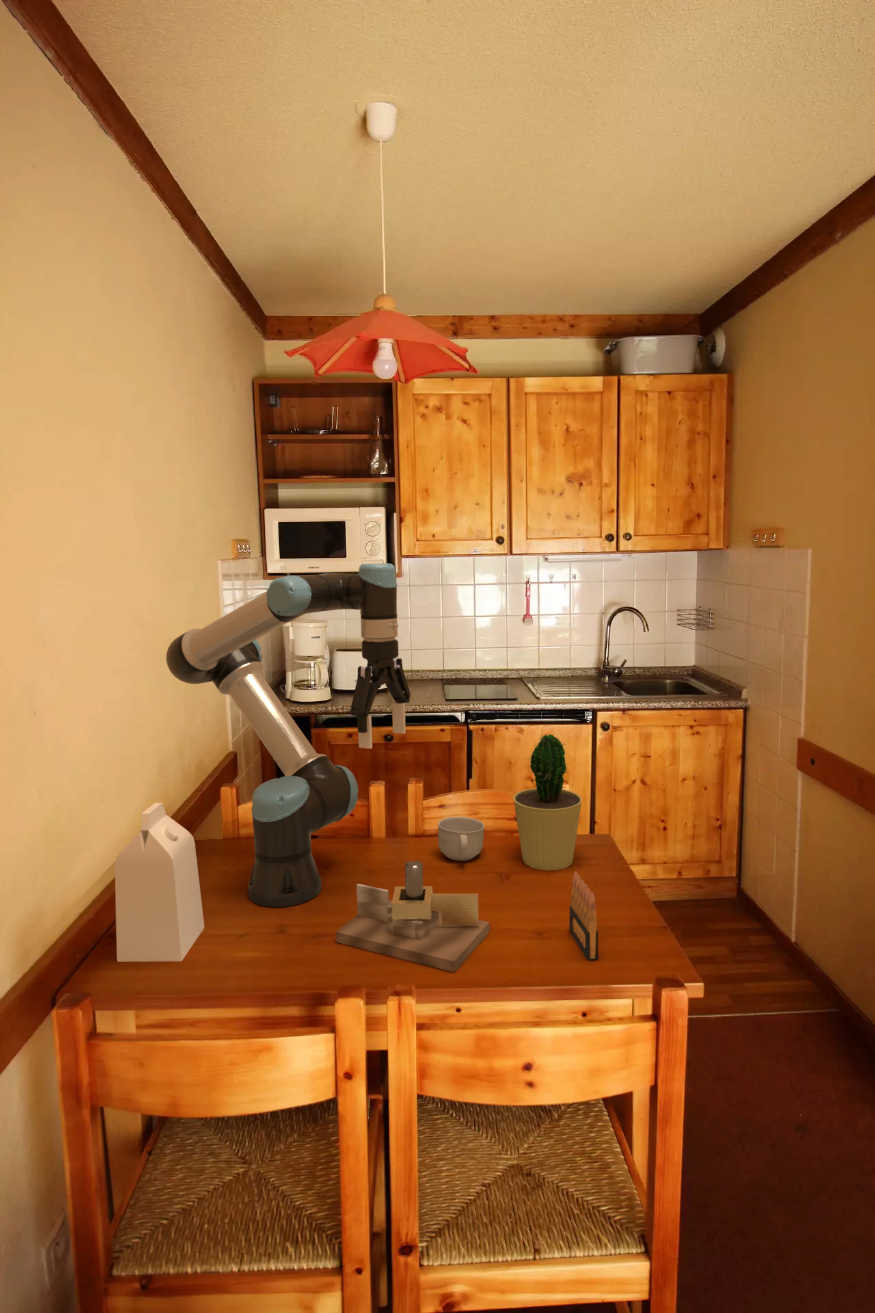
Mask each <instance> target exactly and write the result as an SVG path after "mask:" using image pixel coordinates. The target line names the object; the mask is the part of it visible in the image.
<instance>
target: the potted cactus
mask: <svg viewBox="0 0 875 1313" xmlns="http://www.w3.org/2000/svg"><path fill="white" fill-rule="evenodd" d="M555 733H556V732H554V733H553V734H542V733H541V734H540V736H539V735H538V736H539V738H538V737H537V738H538V739H537V740H539V741H535V742H536V743H535V742H534V743H535V744H534V746H533V747H534V748H533V750H532V751H531V755H530V757H529V758H527V759H526V761H527V762H526V763H529V764H530V765H529V771H530V774H533V775H532V776H533V777H532V783H533V784H534V785H531V786H534V787H533V788H527V789H524V790H519V791H518V792H516V793H515V794H514V795H513V796H512V799H513V806H514V810H515V811H514V812H515V817H516V818H515V819H516V823H517V824H516V825H517V831H518V837H519V842H520V849H521V857H522V860H523V863H524V864H525V865H526V866H528V867H530V868H533V869H536V870H542V871H558V870H559V871H560V870H564V869H567V868H568V867H570V866H571V865H572V864H573V861H574V855H575V854H574V853H575V848H576V840H577V835H578V828H579V821H580V814H581V809H582V801H583V800H582V796H581V795H580V794H578V793H576V792H574V791H571V790H568V789H565V785H564V782H565V778H566V777H567V776H568V775H569V769H567V765H568V763H567V762H566V759H567V758H568V757H567V756H568V755H567V754H569V753H568V752H567V754H566V748H568V747H565V746H566V745H567V743H565V742H563V740H560V739H561V738H560V737H557V736H554V735H556V734H555ZM562 742H563V743H562ZM565 756H566V757H565ZM565 773H566V774H568V775H565ZM563 785H564V786H563Z"/></svg>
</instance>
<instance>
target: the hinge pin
mask: <svg viewBox="0 0 875 1313" xmlns="http://www.w3.org/2000/svg"><path fill="white" fill-rule="evenodd" d="M404 866H405V867H404V871H405V872H404V875H405V876H404V880H405V881H404V882H405V883H404V886H405V900H423V886H424V885H423V884H424V864H423V862H421V861H420V860H410V861H407V862H406V863H405V865H404ZM417 920H418V919H417Z"/></svg>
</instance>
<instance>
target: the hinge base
mask: <svg viewBox="0 0 875 1313" xmlns="http://www.w3.org/2000/svg"><path fill="white" fill-rule="evenodd" d="M389 894H390V893H389V889H385V888H379V887H376V886H370V885H365V884H361V883H358V884H356V902H357V903H356V904H357V905H356V906H357V915H355V916H354V917H353V918H352V919H351V920H349V921H347V923H345V924H344V925H343V926H341V928H339V929H338V930H337V931H336V932H335V933H336V934H335V936H336V943H340V944H343V945H346V946H350V947H353V948H354V947H355V948H357V949H362V950H366V951H370V952H374V953H377V954H381V955H385V956H388V957H393V958H397V959H399V960H400V959H401V960H404V961H408V962H412V963H415V964H419V963H420V964H421V965H423V966H427V967H431V968H434V969H438V968H439V970H444V971H446V970H447V972H450V971H451V973H454V972H455V971H456V972H457V971H458V969H459V968H460V967H461V966H462V964H464V963H465V962H466V961H467V959H468V958H469V956H471V954H472V953H473V952H474V951H475V950H476V948H478V946H479V945H480V944H481V943H482V941H483V940H484V939H485V938H486V937H487V936H488V934H490V921H485V920H481V919H478V924H479V925H442V911H432V915H431V919H418V920H417V919H392V900H390V895H389ZM460 965H461V966H460ZM456 972H455V973H456Z"/></svg>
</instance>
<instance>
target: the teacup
mask: <svg viewBox="0 0 875 1313" xmlns="http://www.w3.org/2000/svg"><path fill="white" fill-rule="evenodd" d="M437 826H438V830H437V831H438V832H437V833H438V834H437V840H438V842H437V843H438V848H439V850H440V852H441V853H442V854H443V855H444V856H445V857H447V858H448V859H450V860H453V861H458V862H459V861H460V862H463V861H465V862H466V861H470V860H473V859H474V858H476V856H478V855H479V854H480V853H481V851H482V849H483V845H484V835H485V834H484V833H485V823H484V822H483V821H481V820H479V819H476V818H473V817H465V816H450V817H446V818H442V819H440V820H439V821H438V822H437Z"/></svg>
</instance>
